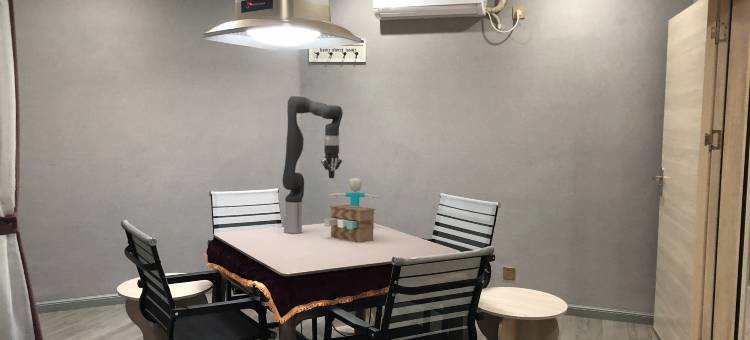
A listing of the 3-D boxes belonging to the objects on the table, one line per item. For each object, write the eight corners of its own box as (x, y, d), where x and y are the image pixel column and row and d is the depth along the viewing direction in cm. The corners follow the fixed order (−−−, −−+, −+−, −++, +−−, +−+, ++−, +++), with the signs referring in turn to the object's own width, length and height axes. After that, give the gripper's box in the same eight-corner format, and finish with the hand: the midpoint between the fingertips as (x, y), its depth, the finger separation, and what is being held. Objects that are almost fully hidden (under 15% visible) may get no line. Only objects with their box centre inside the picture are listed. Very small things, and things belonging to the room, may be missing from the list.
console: (329, 237, 356) (330, 206, 354) (344, 234, 363) (344, 204, 362) (359, 243, 340) (360, 210, 339) (374, 240, 348) (374, 208, 346)
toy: (380, 227, 390) (381, 177, 387) (379, 230, 380) (380, 178, 378) (330, 225, 393) (330, 176, 390) (327, 228, 383) (328, 177, 381)
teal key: (346, 228, 341) (346, 221, 341) (358, 226, 348) (358, 219, 347) (351, 229, 339) (352, 222, 338) (363, 227, 345) (364, 220, 345)
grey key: (324, 225, 349) (324, 218, 349) (336, 224, 355) (336, 217, 355) (329, 226, 346) (329, 219, 346) (341, 224, 353) (341, 217, 352)
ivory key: (337, 226, 346) (337, 219, 346) (349, 225, 353) (349, 218, 352) (342, 227, 344) (342, 220, 343) (354, 225, 350) (354, 218, 350)
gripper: (336, 144, 346) (335, 177, 347) (317, 144, 336) (316, 178, 337) (346, 144, 340) (345, 178, 342) (327, 145, 331) (326, 179, 332)
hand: (331, 178), depth 339 cm, fingers closed
